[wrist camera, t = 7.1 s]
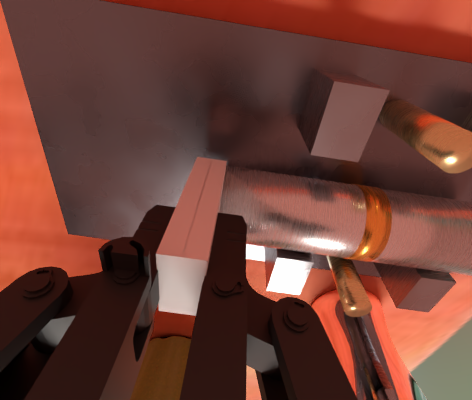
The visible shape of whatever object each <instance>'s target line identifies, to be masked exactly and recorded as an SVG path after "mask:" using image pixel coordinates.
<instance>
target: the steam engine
mask: <svg viewBox="0 0 472 400" xmlns="http://www.w3.org/2000/svg"><path fill="white" fill-rule="evenodd" d="M0 1H1V5H2V8H3V12H4V15H5V18H6V22H7V25H8V29H9V32H10V36H11V39H12V43H13V46H14V49H15V53H16V56H17V60H18V63H19V67H20V70H21V73H22V77H23V80H24V84H25V87H26V91H27V94H28V97H29V101H30V104H31V108H32V111H33V115H34V118H35V122H36V125H37V128H38V132H39V135H40V139H41V142H42V146H43V149H44V152H45V156H46V159H47V163H48V166H49V170H50V173H51V176H52V180H53V183H54V187H55V190H56V194H57V197H58V201H59V204H60V207H61V211H62V214H63V218H64V221H65V225H66V228H67V231H68V234H72V235H79V236H87V237H94V238H101V239H108V240H113V239H117V238H121V237H133V236H134V234H135V232H136V230H137V229H138V227H139V225H140V223H141V222H142V220H143V218H144V216H145V215H146V213H147V211H149V210H150V209H151V208H153V207H154V206H155V205H163V206H171V207H176V205H177V203H178V201H179V198H180V196H181V194H182V191H183V189H184V187H185V184H186V182H187V180H188V177H189V175H190V173H191V170H192V168H193V166H194V163H195V161H196V159H197V157H203V158H210V159H216V160H223V161H227V164H226V165H227V166H233V167H240V168H247V169H254V170H260V171H267V172H274V173H280V174H287V175H294V176H300V177H307V178H314V179H320V180H327V181H334V182H341V183H347V184H358V185H365V186H371V187H377V188H381V189H387V190H394V191H401V192H408V193H414V194H421V195H428V196H434V197H441V198H448V199H454V200H461V201H468V202H472V63H468V62H462V61H456V60H450V59H444V58H438V57H432V56H426V55H420V54H415V53H409V52H403V51H397V50H391V49H385V48H379V47H373V46H367V45H361V44H355V43H349V42H343V41H338V40H332V39H326V38H320V37H314V36H308V35H302V34H296V33H290V32H284V31H278V30H272V29H267V28H261V27H255V26H249V25H243V24H237V23H231V22H225V21H219V20H213V19H207V18H201V17H196V16H190V15H184V14H178V13H172V12H166V11H160V10H154V9H148V8H142V7H136V6H130V5H124V4H119V3H113V2H107V1H101V0H0ZM246 259H253V260H260V261H265V270H266V288H267V291H274V292H282V293H289V294H296V295H300V293H301V291H302V288H303V286H304V284H305V281H306V279H307V277H308V275H309V272H310V270H311V268H318V269H325V270H331V272H332V275H333V278H334V281H335V285H336V288H337V291H338V294H339V297H340V300H341V303H342V306H343V309H344V312H345V314H347V315H348V316H351V317H361V316H364V315H367V314H368V313H369V312H371V310H372V305H371V303H370V300H369V298H368V296H367V293H366V291H365V289H364V286H363V284H362V282H361V279H360V277H359V275H358V274H361V275H368V276H376V277H381V279H382V281H383V283H384V284H385V286H386V288H387V290H388V292H389V294H390V296H391V298H392V300H393V302H394V304H395V306H396V308H400V309H408V310H415V311H423V312H429V311H430V310H431V309H432V308H433V307H434V306H435V305H436V304H437V303H438V302H439V301H440V299H441V298H442V297H443V296H444V295H445V294H446V293H447V292H448V291H449V290H450V289H451V288H452V287H453V286H454V285H455V284H456V281H455V280H454V279H453V278H452V276H451V275H450V274H449V273H448V272H440V271H433V270H426V269H419V268H412V267H405V266H398V265H391V264H384V263H377V262H366V261H358V260H351V259H344V258H341V257H334V256H327V255H320V254H313V253H306V252H299V251H292V250H285V249H278V248H270V247H263V246H256V245H249V244H246Z"/></svg>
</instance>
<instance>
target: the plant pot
mask: <svg viewBox="0 0 472 400" xmlns="http://www.w3.org/2000/svg"><path fill="white" fill-rule="evenodd" d="M190 343H191V339H188V338H186V337H181V336H171V337H168V338H166V339H161V338H155V339H153V340H151V341H149V343H148V346H147V349H146V353H145V356H144V359H143V362H142V365H141V368H140V371H139V374H138V377H137V380H136V383H135V386H134V389H133V392H132V395H131V398H130V400H179V399H180V394H181V389H182V384H183V379H184V374H185V369H186V364H187V358H188V353H189V348H190Z"/></svg>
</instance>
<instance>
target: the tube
mask: <svg viewBox="0 0 472 400" xmlns="http://www.w3.org/2000/svg"><path fill="white" fill-rule="evenodd" d="M219 213H226V214H233V215H240V216H243V218H244V220H245V222H246V224H247V235H246V236H247V240H246V244H249V245H256V246H263V247H270V248H278V249H285V250H292V251H299V252H306V253H313V254H320V255H327V256H334V257H341V258H344V259H351V260H358V261H366V262H377V263H384V264H391V265H398V266H405V267H412V268H419V269H426V270H433V271H440V272H448V273H455V274H462V275H469V276H472V202H468V201H461V200H454V199H448V198H441V197H434V196H428V195H421V194H414V193H408V192H401V191H394V190H387V189H381V188H377V187H371V186H365V185H358V184H347V183H341V182H334V181H327V180H320V179H314V178H307V177H300V176H294V175H287V174H280V173H274V172H267V171H260V170H254V169H247V168H240V167H233V166H227V165H226V171H225V177H224V183H223V189H222V196H221V203H220V210H219Z"/></svg>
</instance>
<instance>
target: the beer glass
mask: <svg viewBox="0 0 472 400" xmlns="http://www.w3.org/2000/svg"><path fill="white" fill-rule="evenodd" d="M365 291H366V290H365ZM366 293H367V296H368V298H369V300H370V303H371V305H372V310H371V312H369V313H368V314H367V315H364V316H361V317H351V316H348V315H347V314H345V312H344V309H343V306H342V303H341V300H340V297H339V294H338V291H337V290H333V291H330V292H327V293H325V294H323V295H321V296H320V297H319V298H317V299H316V300H315V301H314V302H313V304H312V305H311V307H312V308H313V309H314V310H315V312H316V313H317V315H318V316H319V318H320V320H321V323H322V325H323V327H324V329H325V331H326V333H327V335H328V337H329V340H330V342H331V344H332V346H333V348H334V350H335V352H336V354H337V357H338V359H339V361H340V363H341V365H342V367H343V369H344V371H345V373H346V376H347V378H348V380H349V382H350V384H351V386H352V388H353V390H354V393H355V395H356V397H357V399H358V400H427V398H426V397H425V395H424V394H423V392H422V390H421V389H420V387H419V386H418V384H417V383H416V381H415V380H414V378H413V377H412V375H411V373H410V372H409V370H408V369H407V367H406V366H405V364H404V362H403V361H402V359H401V357H400V356H399V354H398V352H397V350H396V348H395V346H394V344H393V342H392V340H391V337H390V335H389V332H388V328H387V325H386V321H385V317H384V313H383V309H382V305H381V303H380V301H379V299H378V298H377V297H376V296H375V295H374V294H372V293H370V292H368V291H366Z"/></svg>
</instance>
